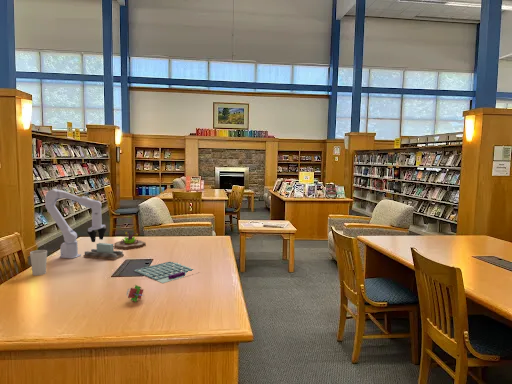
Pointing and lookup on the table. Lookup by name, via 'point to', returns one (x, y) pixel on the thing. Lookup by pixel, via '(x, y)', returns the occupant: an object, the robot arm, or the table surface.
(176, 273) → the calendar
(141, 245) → the plant
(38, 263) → the cup
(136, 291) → the geometric puzzle
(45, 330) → the table surface
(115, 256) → the door track
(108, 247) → the door panel
